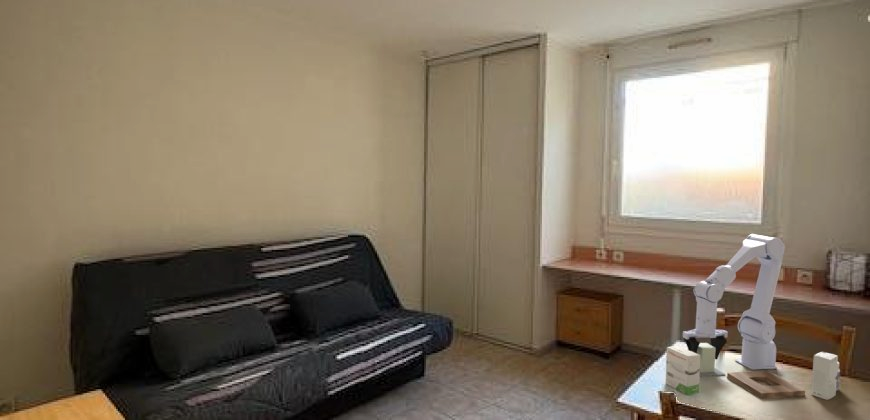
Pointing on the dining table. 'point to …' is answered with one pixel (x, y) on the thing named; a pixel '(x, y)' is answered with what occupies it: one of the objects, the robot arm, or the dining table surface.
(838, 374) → the pill bottle
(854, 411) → the dining table surface
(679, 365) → the ink box
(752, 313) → the robot arm
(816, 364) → the skincare box
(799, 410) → the dining table surface
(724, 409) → the dining table surface
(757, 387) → the pocket block
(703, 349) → the sage block
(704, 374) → the rubber pad
